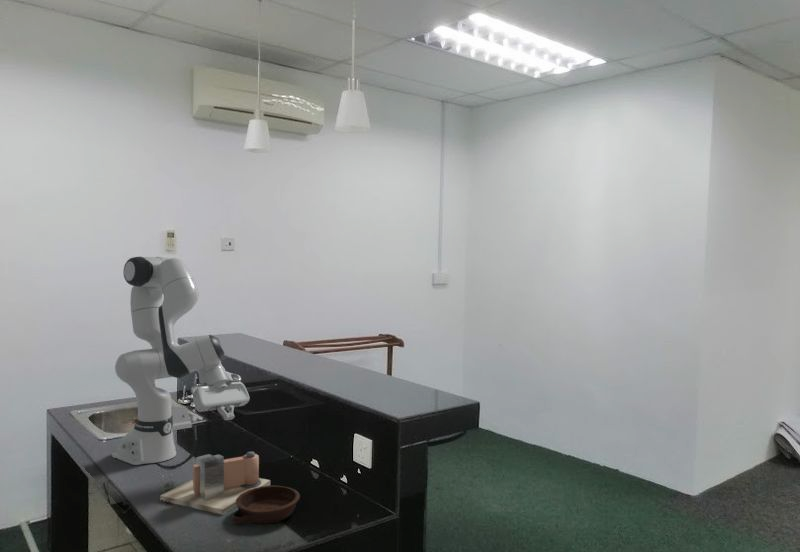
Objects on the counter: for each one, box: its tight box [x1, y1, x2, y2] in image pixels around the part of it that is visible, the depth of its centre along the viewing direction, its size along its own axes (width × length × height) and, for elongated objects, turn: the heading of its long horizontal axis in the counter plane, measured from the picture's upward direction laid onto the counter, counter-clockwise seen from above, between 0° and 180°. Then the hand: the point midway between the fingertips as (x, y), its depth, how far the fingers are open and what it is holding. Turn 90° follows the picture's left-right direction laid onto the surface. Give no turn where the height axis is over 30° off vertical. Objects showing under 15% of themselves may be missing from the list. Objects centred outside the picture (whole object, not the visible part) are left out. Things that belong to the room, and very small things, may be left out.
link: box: [192, 451, 260, 494], centre depth 179 cm, size 20×5×9 cm, turn 120°
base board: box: [159, 477, 271, 516], centre depth 180 cm, size 23×23×2 cm
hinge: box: [171, 405, 193, 431], centre depth 243 cm, size 17×5×10 cm, turn 127°
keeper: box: [196, 453, 225, 500], centre depth 174 cm, size 6×5×12 cm
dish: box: [231, 484, 301, 525], centre depth 166 cm, size 18×22×5 cm
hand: (229, 419), depth 191 cm, fingers closed
